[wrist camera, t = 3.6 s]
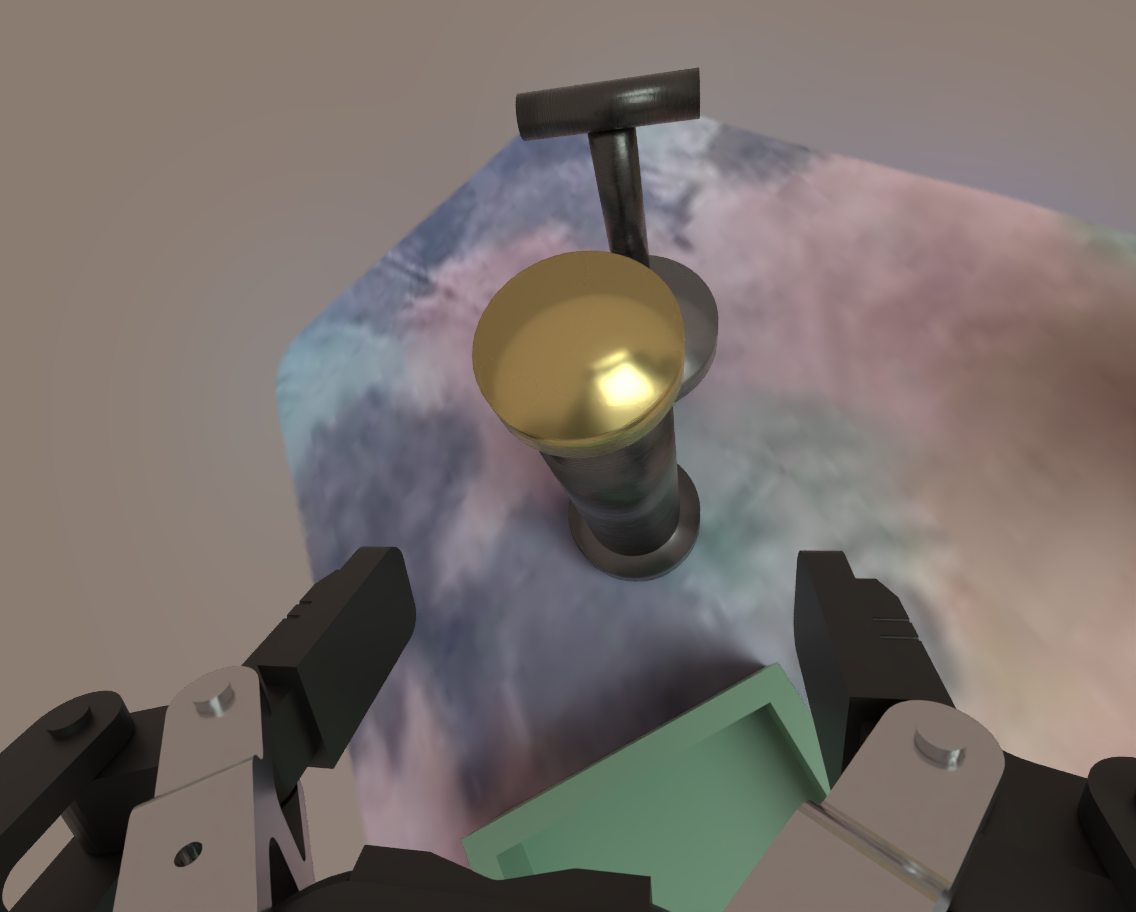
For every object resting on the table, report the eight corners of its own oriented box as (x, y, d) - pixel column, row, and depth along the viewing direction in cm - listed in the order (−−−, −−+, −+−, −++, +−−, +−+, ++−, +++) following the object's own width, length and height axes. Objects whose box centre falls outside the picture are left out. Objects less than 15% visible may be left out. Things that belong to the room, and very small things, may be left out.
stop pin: (658, 438, 24) (624, 195, 12) (724, 541, 22) (761, 372, 10) (553, 497, 24) (417, 310, 12) (610, 605, 22) (515, 508, 10)
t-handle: (567, 300, 27) (495, 77, 17) (713, 289, 26) (725, 41, 16) (559, 444, 25) (469, 280, 15) (719, 440, 24) (738, 258, 14)
